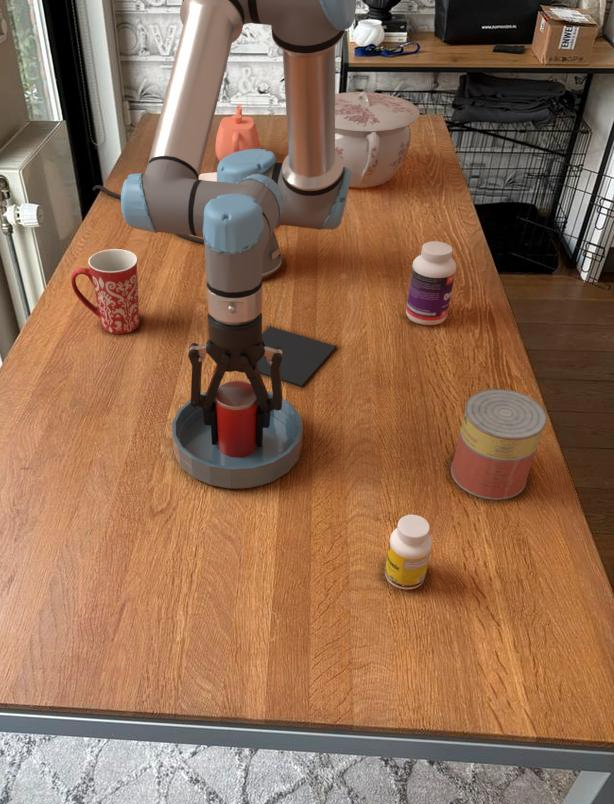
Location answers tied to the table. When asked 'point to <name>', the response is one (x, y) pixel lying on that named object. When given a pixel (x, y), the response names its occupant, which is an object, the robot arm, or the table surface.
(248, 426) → the tin can
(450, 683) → the table surface
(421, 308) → the pill bottle
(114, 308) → the mug
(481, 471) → the canned food
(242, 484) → the dish
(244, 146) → the teapot
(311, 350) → the mat
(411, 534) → the supplement bottle
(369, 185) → the chamber pot
